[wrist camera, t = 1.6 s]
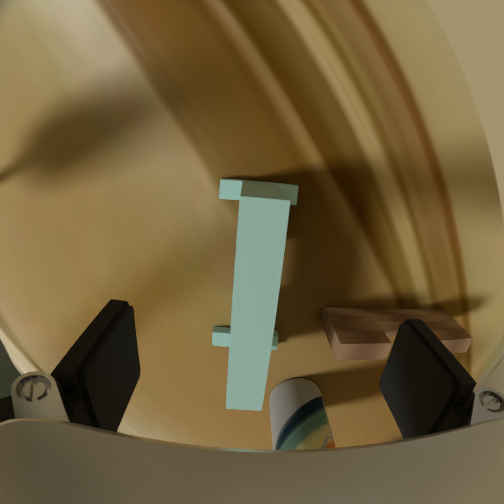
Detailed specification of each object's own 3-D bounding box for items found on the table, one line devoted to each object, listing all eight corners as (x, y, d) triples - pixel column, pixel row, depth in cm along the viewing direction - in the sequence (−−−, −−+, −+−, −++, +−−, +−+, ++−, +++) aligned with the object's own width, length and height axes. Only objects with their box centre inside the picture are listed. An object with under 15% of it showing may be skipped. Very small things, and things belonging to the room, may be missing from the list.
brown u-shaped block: (321, 321, 29) (335, 360, 23) (324, 307, 28) (340, 343, 23) (439, 322, 29) (466, 352, 24) (443, 309, 29) (472, 338, 23)
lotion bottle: (325, 402, 32) (365, 558, 13) (279, 417, 33) (295, 573, 14) (312, 369, 31) (355, 548, 12) (261, 386, 31) (270, 565, 12)
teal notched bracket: (221, 178, 25) (207, 193, 16) (296, 184, 25) (321, 204, 16) (213, 339, 29) (202, 406, 21) (275, 343, 29) (284, 411, 21)
